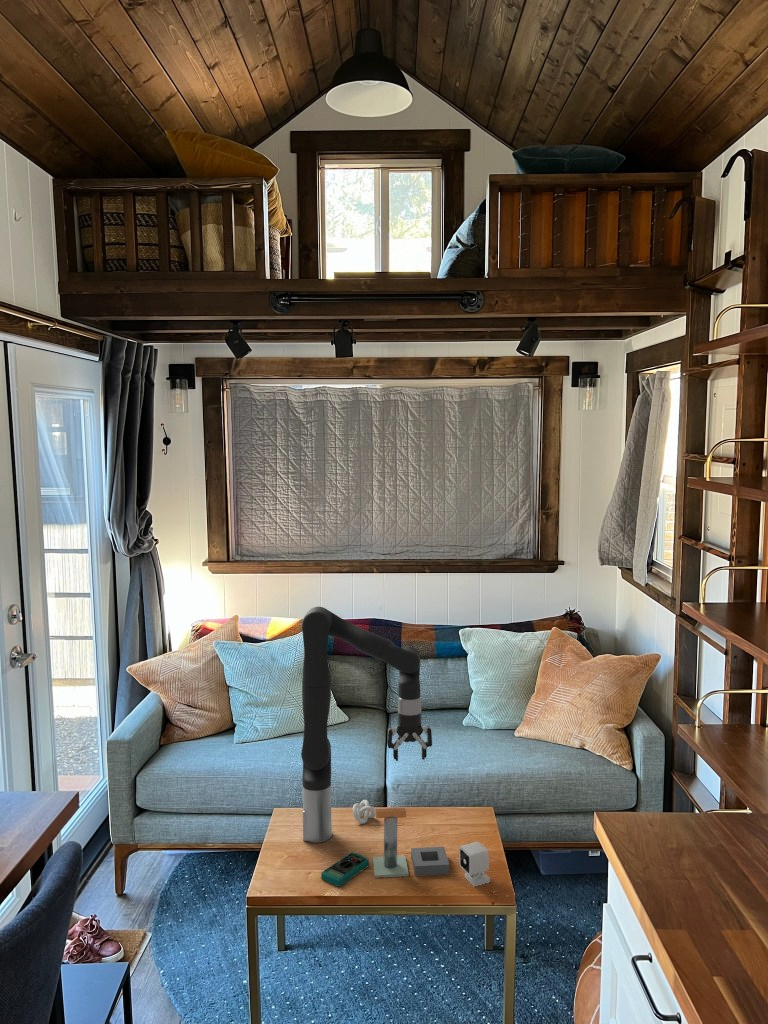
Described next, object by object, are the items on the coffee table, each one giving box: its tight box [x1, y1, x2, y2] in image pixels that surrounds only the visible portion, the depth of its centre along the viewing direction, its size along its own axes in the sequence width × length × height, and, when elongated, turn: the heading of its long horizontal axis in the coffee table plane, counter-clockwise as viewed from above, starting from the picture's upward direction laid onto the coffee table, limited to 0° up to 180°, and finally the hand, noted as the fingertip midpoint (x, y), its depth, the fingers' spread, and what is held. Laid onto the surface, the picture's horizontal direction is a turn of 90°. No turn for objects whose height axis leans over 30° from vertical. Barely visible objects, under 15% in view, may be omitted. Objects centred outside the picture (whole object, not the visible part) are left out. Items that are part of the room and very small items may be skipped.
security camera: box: [458, 841, 491, 888], centre depth 218 cm, size 6×7×10 cm
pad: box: [372, 855, 410, 879], centre depth 225 cm, size 10×10×1 cm
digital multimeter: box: [320, 851, 370, 888], centre depth 223 cm, size 7×15×3 cm, turn 143°
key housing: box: [410, 846, 450, 877], centre depth 226 cm, size 10×10×3 cm
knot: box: [352, 799, 376, 825], centre depth 254 cm, size 8×8×6 cm
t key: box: [375, 807, 407, 868], centre depth 225 cm, size 9×4×17 cm, turn 95°
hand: (409, 759), depth 241 cm, fingers open, 8 cm apart
